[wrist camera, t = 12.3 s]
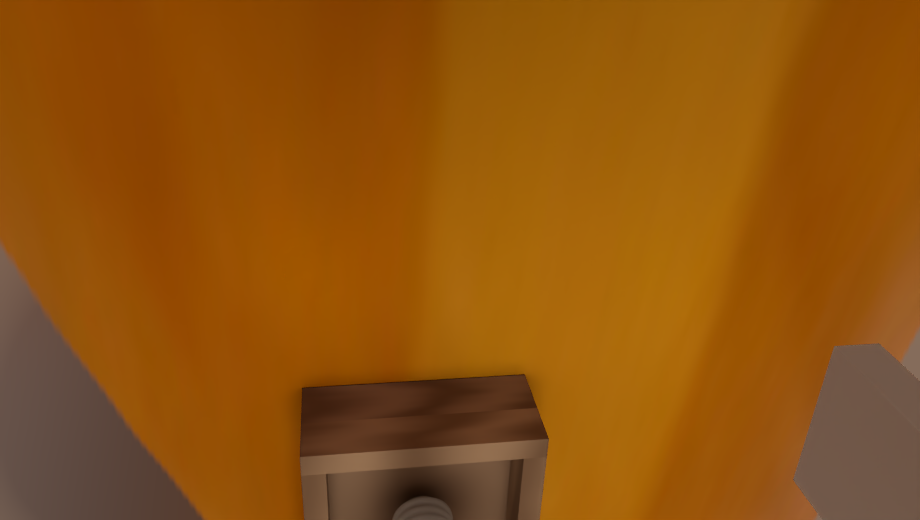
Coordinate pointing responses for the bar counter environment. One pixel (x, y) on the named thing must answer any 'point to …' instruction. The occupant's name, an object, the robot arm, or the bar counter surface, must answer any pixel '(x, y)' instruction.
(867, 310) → the bar counter surface
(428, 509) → the light bulb
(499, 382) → the walnut box
